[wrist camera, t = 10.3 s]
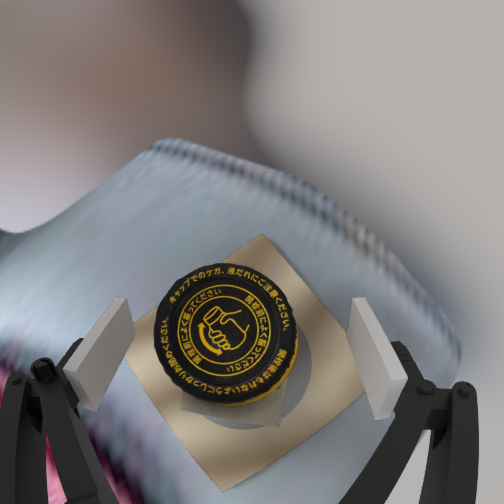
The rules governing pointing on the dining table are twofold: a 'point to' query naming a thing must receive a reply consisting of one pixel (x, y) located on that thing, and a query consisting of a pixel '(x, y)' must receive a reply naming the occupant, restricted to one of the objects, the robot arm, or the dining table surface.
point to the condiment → (228, 343)
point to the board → (297, 392)
